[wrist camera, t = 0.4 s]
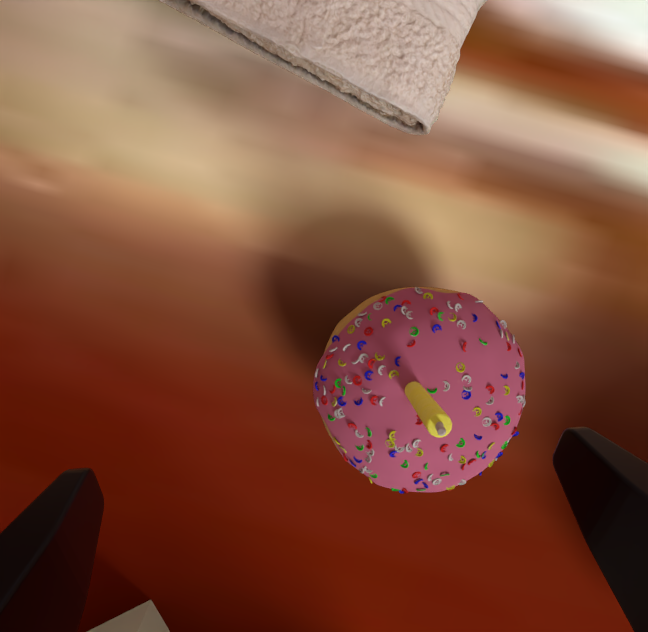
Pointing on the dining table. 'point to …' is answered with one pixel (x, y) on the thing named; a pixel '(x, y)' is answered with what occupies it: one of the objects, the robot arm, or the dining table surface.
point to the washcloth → (354, 47)
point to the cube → (135, 621)
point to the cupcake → (420, 388)
